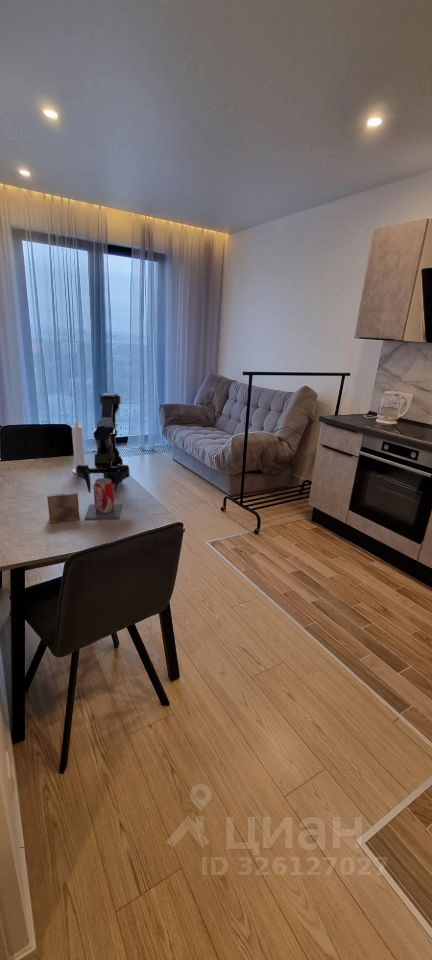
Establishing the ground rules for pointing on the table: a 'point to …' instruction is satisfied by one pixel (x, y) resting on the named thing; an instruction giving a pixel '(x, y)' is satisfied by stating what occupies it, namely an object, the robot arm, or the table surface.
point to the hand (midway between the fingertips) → (102, 492)
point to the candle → (78, 445)
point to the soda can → (104, 495)
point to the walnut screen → (63, 507)
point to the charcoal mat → (95, 515)
